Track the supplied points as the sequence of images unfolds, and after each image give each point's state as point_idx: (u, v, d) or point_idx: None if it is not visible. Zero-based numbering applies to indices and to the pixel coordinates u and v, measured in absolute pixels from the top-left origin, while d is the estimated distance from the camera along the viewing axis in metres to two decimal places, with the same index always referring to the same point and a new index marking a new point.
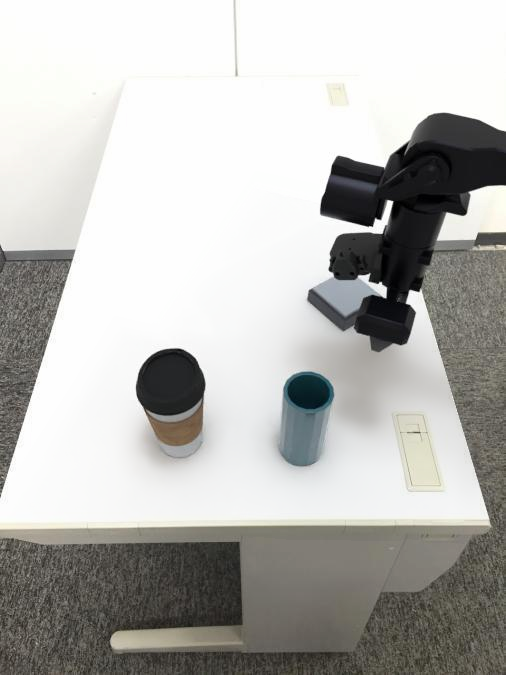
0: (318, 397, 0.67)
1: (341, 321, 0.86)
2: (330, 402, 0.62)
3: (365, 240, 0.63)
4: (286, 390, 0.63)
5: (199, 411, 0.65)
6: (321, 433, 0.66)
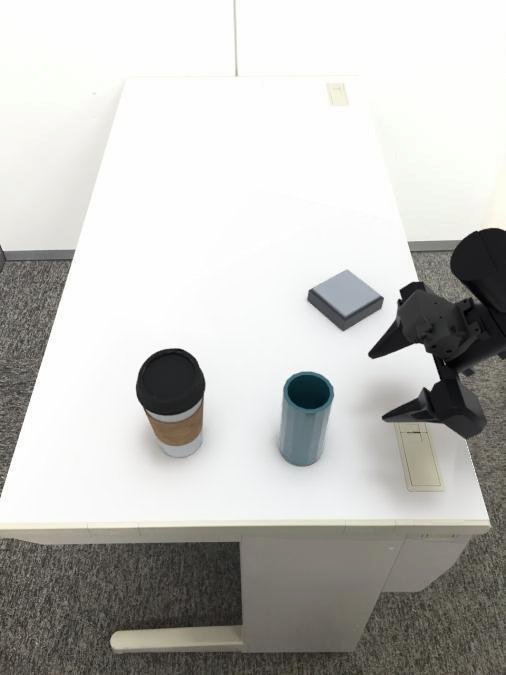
0: (318, 397, 0.67)
1: (341, 321, 0.86)
2: (330, 402, 0.62)
3: (448, 309, 0.54)
4: (286, 390, 0.63)
5: (199, 411, 0.65)
6: (321, 433, 0.66)
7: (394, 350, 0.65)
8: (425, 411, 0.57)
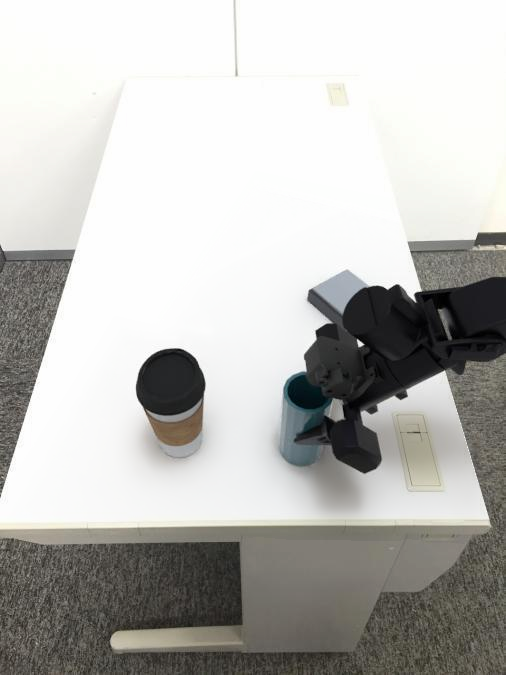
0: (318, 397, 0.67)
1: (341, 321, 0.86)
2: (330, 402, 0.62)
3: (348, 354, 0.59)
4: (286, 390, 0.63)
5: (199, 411, 0.65)
6: None
7: None
8: None
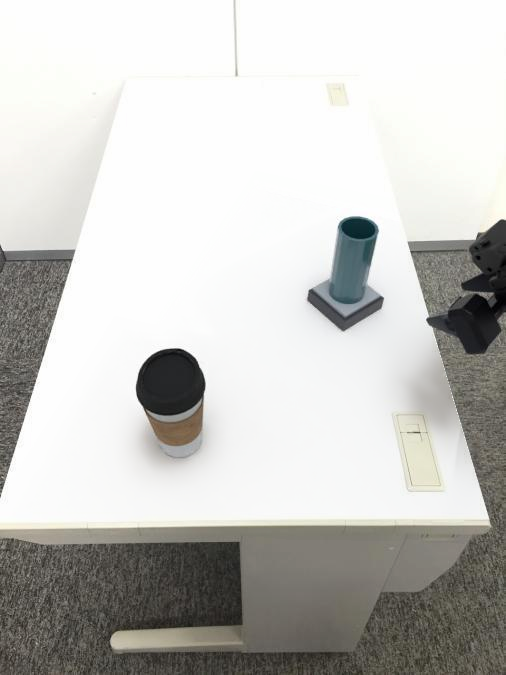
0: None
1: (341, 321, 0.86)
2: (365, 240, 0.77)
3: None
4: (344, 220, 0.80)
5: (199, 411, 0.65)
6: (353, 270, 0.81)
7: (483, 290, 0.72)
8: None
